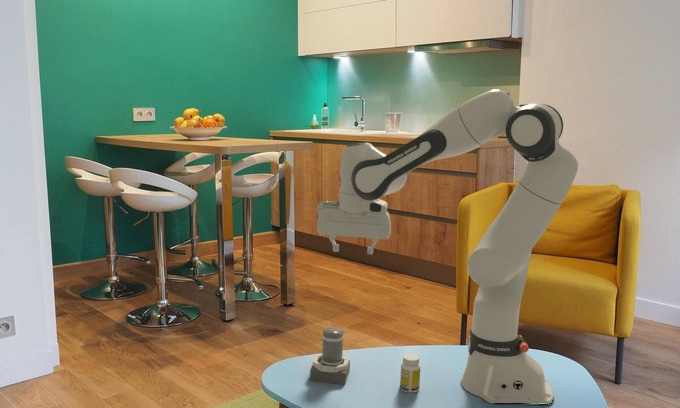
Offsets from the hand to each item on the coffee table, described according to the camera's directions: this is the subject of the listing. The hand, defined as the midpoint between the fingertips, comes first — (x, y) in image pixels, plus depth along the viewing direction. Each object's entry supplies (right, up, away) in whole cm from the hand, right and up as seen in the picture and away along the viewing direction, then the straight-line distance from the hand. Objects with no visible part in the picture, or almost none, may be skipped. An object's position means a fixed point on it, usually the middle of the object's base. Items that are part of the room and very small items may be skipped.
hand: (352, 252), depth 172 cm
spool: (-6, -28, -10) cm, 30 cm away
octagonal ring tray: (-6, -31, -10) cm, 33 cm away
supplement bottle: (+14, -33, -15) cm, 39 cm away
